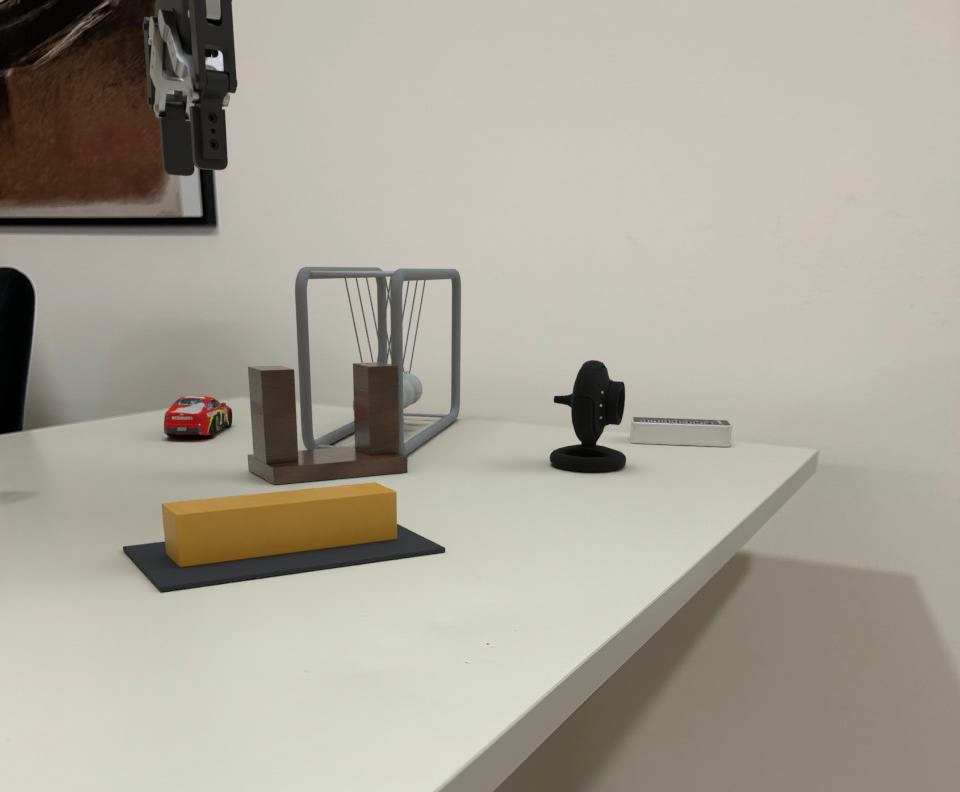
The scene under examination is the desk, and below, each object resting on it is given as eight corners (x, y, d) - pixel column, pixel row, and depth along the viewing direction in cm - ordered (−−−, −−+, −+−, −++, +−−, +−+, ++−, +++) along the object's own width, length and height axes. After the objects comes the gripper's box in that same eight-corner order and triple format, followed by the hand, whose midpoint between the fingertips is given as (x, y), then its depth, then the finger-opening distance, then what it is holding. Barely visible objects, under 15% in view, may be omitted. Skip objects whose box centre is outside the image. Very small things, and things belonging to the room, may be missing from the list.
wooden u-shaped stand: (274, 485, 85) (267, 372, 82) (248, 470, 91) (241, 364, 88) (407, 472, 92) (407, 367, 88) (375, 459, 97) (374, 360, 94)
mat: (160, 592, 57) (160, 587, 57) (123, 550, 65) (122, 546, 65) (445, 551, 67) (445, 547, 66) (382, 519, 75) (382, 516, 74)
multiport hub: (629, 436, 114) (631, 416, 113) (726, 440, 112) (728, 420, 112) (630, 443, 109) (631, 422, 109) (730, 447, 108) (733, 425, 107)
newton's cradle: (380, 415, 126) (378, 267, 120) (460, 418, 125) (462, 268, 118) (301, 455, 99) (292, 266, 92) (402, 461, 97) (400, 268, 91)
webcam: (617, 475, 92) (624, 365, 88) (540, 469, 94) (544, 361, 91) (632, 461, 99) (640, 358, 95) (560, 455, 101) (565, 355, 98)
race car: (193, 423, 117) (190, 388, 116) (238, 424, 117) (236, 389, 116) (156, 440, 105) (152, 402, 104) (206, 442, 105) (203, 403, 103)
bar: (179, 567, 61) (174, 514, 60) (166, 554, 64) (160, 503, 62) (397, 539, 68) (397, 491, 67) (376, 528, 71) (375, 481, 70)
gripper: (96, -83, 68) (119, 174, 74) (142, -148, 57) (164, 162, 63) (204, -63, 72) (218, 181, 78) (267, -120, 61) (278, 171, 66)
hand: (194, 172), depth 70 cm, fingers open, 8 cm apart
